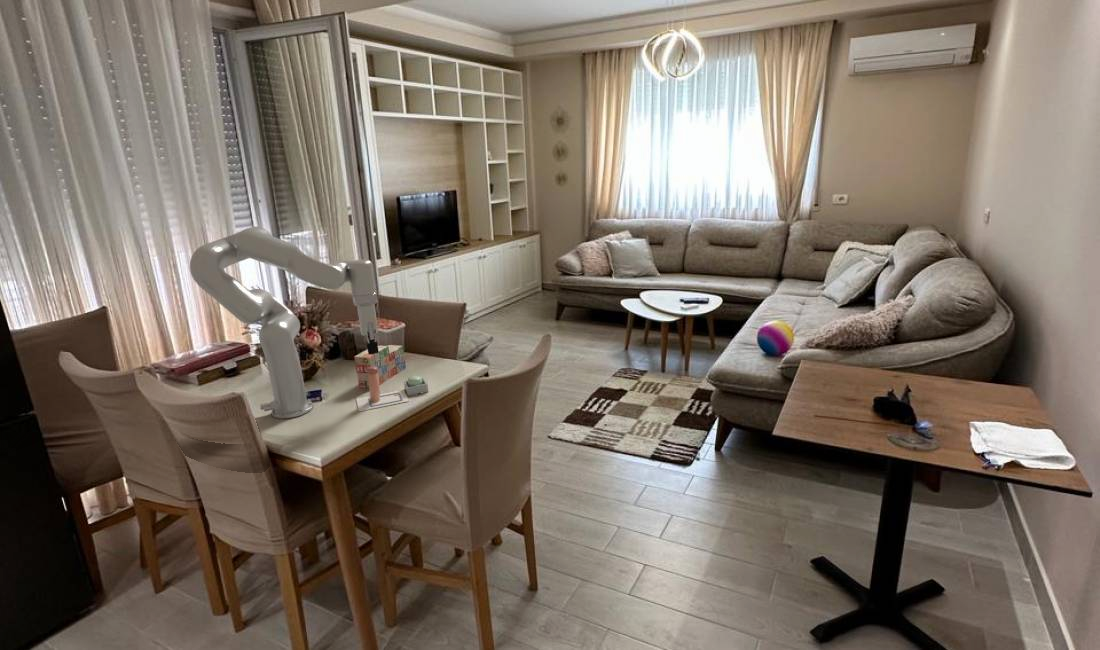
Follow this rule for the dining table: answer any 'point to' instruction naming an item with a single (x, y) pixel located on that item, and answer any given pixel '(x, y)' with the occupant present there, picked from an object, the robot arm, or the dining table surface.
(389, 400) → the sheet
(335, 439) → the dining table surface
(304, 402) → the robot arm
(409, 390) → the button housing
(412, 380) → the button
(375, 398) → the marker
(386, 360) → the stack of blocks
